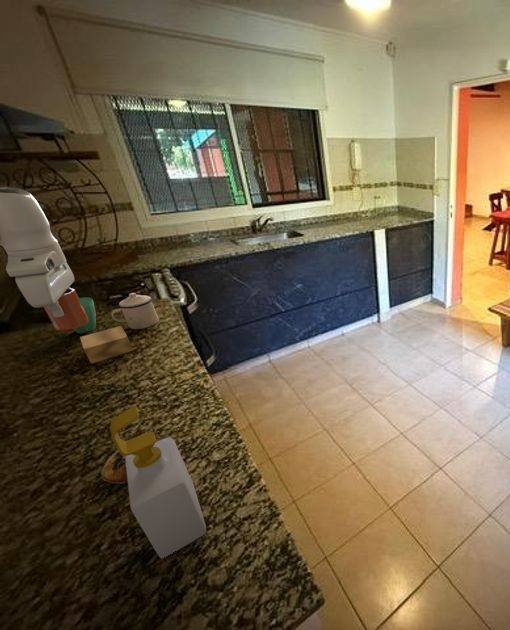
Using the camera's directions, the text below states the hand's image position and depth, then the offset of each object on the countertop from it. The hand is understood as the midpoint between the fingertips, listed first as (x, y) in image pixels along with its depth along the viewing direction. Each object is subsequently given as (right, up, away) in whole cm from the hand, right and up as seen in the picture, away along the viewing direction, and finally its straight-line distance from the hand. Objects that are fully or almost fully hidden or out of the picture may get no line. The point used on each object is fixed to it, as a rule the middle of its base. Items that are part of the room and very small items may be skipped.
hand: (65, 309), depth 88 cm
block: (-4, -12, +18) cm, 22 cm away
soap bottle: (+50, -36, -30) cm, 69 cm away
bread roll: (+35, -31, -19) cm, 51 cm away
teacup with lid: (-8, -5, +33) cm, 34 cm away
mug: (-22, -7, +28) cm, 36 cm away
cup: (0, -4, +2) cm, 4 cm away
